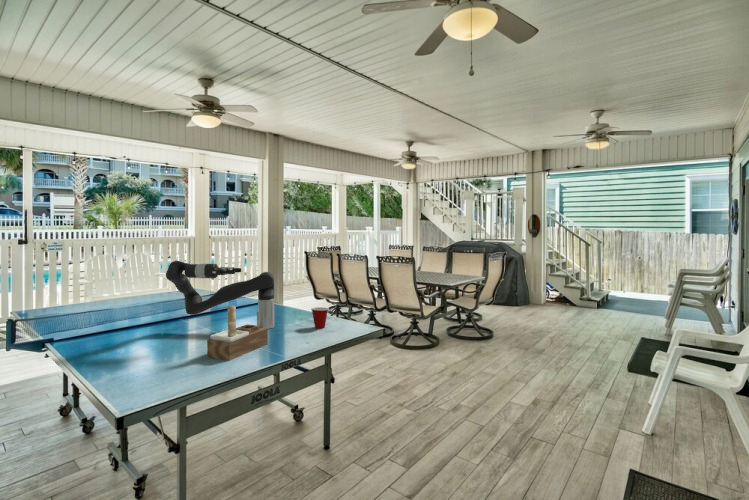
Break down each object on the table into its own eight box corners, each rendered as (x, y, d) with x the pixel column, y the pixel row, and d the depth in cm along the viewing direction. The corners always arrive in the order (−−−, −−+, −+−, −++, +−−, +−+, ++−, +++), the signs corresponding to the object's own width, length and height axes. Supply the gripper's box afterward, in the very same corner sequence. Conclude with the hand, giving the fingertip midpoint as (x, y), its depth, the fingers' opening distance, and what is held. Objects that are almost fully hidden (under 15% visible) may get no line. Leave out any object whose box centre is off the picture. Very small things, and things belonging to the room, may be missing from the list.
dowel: (226, 336, 182) (225, 306, 181) (232, 334, 185) (231, 305, 184) (232, 337, 180) (231, 307, 179) (237, 335, 183) (237, 306, 183)
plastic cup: (332, 326, 235) (332, 306, 235) (322, 330, 225) (322, 310, 225) (317, 324, 240) (317, 305, 239) (307, 328, 230) (307, 308, 229)
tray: (210, 339, 179) (210, 335, 179) (229, 332, 190) (229, 329, 190) (230, 342, 175) (230, 338, 175) (248, 335, 186) (248, 331, 186)
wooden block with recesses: (207, 357, 178) (207, 335, 178) (247, 341, 203) (247, 322, 203) (229, 360, 173) (229, 338, 173) (267, 344, 198) (267, 324, 198)
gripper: (213, 276, 206) (243, 276, 205) (200, 279, 191) (232, 280, 191) (212, 262, 205) (243, 262, 205) (199, 264, 191) (232, 264, 191)
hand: (238, 271), depth 198 cm, fingers open, 8 cm apart
